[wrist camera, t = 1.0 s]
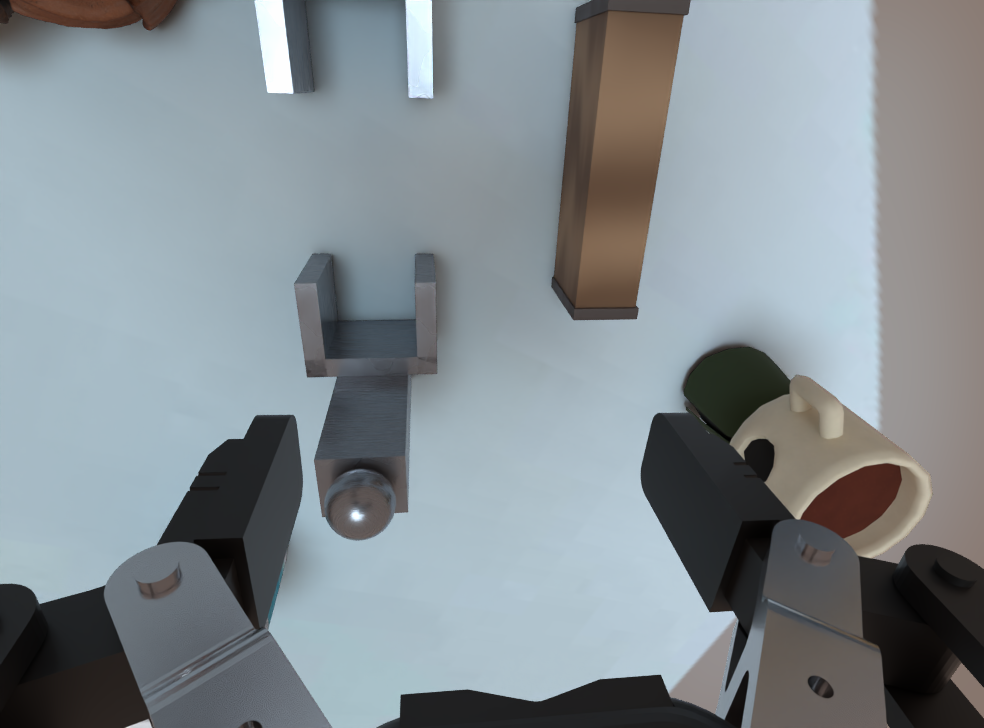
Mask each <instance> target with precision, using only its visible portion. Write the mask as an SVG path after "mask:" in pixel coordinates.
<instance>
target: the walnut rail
mask: <svg viewBox="0 0 984 728" xmlns="http://www.w3.org/2000/svg"><path fill="white" fill-rule="evenodd" d="M690 1H691V0H592V1H590V2H588V3H586V4H584V5H581V6H579V7H577V8H576V14H575V23H577V25H576V36H575V47H574V59H573V70H572V81H571V92H570V103H569V114H568V126H567V137H566V148H565V159H564V170H563V181H562V193H561V204H560V215H559V226H558V237H557V248H556V260H555V271H554V277H552V286H551V287H552V288H553V290H554V291H555V293H556V294H557V296H558V298H559V299H560V301H561V302H562V304H563V305H564V307H565V308H566V310H567V311H568V313H569V314H570V316H571V317H572V319H573V320H618V319H637V315H638V309H639V308H638V307H637V306H636V300H637V294H638V288H639V282H640V276H641V270H642V264H643V258H644V252H645V246H646V240H647V234H648V228H649V222H650V216H651V210H652V204H653V198H654V192H655V186H656V180H657V174H658V167H659V161H660V155H661V149H662V143H663V137H664V131H665V125H666V119H667V113H668V107H669V101H670V95H671V89H672V83H673V77H674V71H675V65H676V59H677V53H678V47H679V41H680V35H681V28H682V22H683V16H684V15H688V13H689V7H690Z"/></svg>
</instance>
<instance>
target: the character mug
mask: <svg viewBox="0 0 984 728" xmlns="http://www.w3.org/2000/svg"><path fill="white" fill-rule="evenodd" d="M684 396H685V397H686V398H687V399H688V400H689V401H690V402H691V403H692V404H693V405H694V406H695V407H696V409H697V411H698V413H699V415H700V416H701V418H702V420H703V421H704V422H705V423H706V424H705V423H704V422H703V421H701V420H700V419H699V418H698V417H697V416H696V415H695V414H694V413H693V412H692V411H691V410H689V409H688V408H687V407H686V410H687V411H688V412H689V413H691V414H692V415H693V416H694V417H695V418H696V419H697V420H698V421H699V423H700V424H701V425H702V426H703V427H704V429H705V430H706V431H708V432H709V433H710V434H714V435H716V436H717V437H719V438H720V439H722V440H723V441H725V442H726V443H728V444H729V445H731V446H733V447H734V448H735V450H736V451H737V452H738V453H739V454H740V455H741V457H742V458H743V459H744V460H745V461H746V465H749V466H750V467H751V468H752V469H753V470H754V471H755V473H756V474H757V478H761V479H762V481H763V482H764V483H765V484H766V485H767V486H768V488H769V489H770V490H771V491H772V492H773V493H774V494H775V496H776V497H777V498H778V499H779V500H780V501H781V502H782V504H783V505H784V506H785V507H786V508H787V509H788V510H789V512H790V513H791V514H792V515H793V516H794V517H795V519H799V520H805V521H810V522H813V523H816V524H818V525H821V526H823V527H825V528H827V529H829V530H831V531H833V532H834V533H836V534H837V535H839V536H840V537H842V538H843V539H844V540H845V541H846V542H847V543H848V544H849V545H850V546H851V547H852V548H853V549H854V551H855V552H856V554H857V556H862V557H867V558H874V557H876V556H878V555H881V554H883V553H885V552H886V551H887V550H889V549H890V548H891V547H893V546H894V545H895V544H897V543H898V542H900V541H901V540H902V539H904V538H905V537H907V535H908V534H909V533H910V532H911V531H912V530H913V528H914V527H915V526H916V525H917V523H918V522H919V521H920V520H921V519H922V518H923V517H924V515H925V512H926V510H927V507H928V505H929V502H930V500H931V497H932V495H933V492H932V485H931V477H930V474H929V473H928V472H927V471H926V470H925V469H924V468H923V467H922V466H921V465H919V464H918V463H917V462H916V461H915V460H914V459H913V458H912V457H911V456H910V455H909V454H908V453H907V452H905V451H904V450H902V449H901V448H900V447H899V446H897V445H896V444H895V443H893V442H892V441H890V440H889V439H888V438H887V437H885V436H884V435H883V434H881V433H880V432H879V431H877V430H876V429H875V428H873V427H872V426H871V425H869V424H868V423H867V422H865V421H864V420H863V419H862V418H860V417H859V416H858V415H856V414H855V413H854V412H852V411H851V410H850V409H848V408H847V407H846V406H844V405H843V404H842V403H840V401H839V400H838V399H837V398H836V397H835V396H833V395H832V394H831V393H829V392H828V391H827V390H825V389H824V388H823V387H821V386H820V385H819V384H817V383H816V382H815V381H813V380H812V379H811V378H809V377H806V376H800V375H796V376H795V377H794V378H793V379H792V380H791V381H790V380H789V379H788V378H787V376H786V375H785V374H784V373H783V372H782V371H781V369H780V368H779V367H778V366H777V365H776V364H775V363H774V362H773V361H772V360H771V359H770V358H769V357H768V356H767V355H766V354H765V353H764V352H761V351H759V350H756V349H753V348H750V347H743V348H734V349H727V350H724V351H722V352H719V353H717V354H714V355H712V356H709V357H707V358H705V359H704V360H703V361H702V362H701V363H700V364H699V365H698V367H697V368H696V369H695V370H694V371H693V372H692V373H691V374H690V376H689V379H688V381H687V384H686V387H685V389H684Z"/></svg>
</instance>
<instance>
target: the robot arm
mask: <svg viewBox="0 0 984 728" xmlns="http://www.w3.org/2000/svg"><path fill="white" fill-rule="evenodd" d="M198 473H199V475H198V476H196V478H195V479H194V481H193V483H192V485H191V486H190V491H188V492H187V493H186V495H185V497H184V499H183V500H182V502H181V504H180V505H179V507H178V509H177V511H176V512H175V514H174V516H173V518H172V519H171V521H170V523H169V525H168V526H167V528H166V530H165V532H164V533H163V535H162V537H161V539H160V540H159V542H158V544H157V546H153V547H151V548H148V549H145V550H143V551H141V552H139V553H137V554H136V555H134V556H132V557H131V558H129V559H128V560H126V561H125V562H124V563H123V564H121V565H120V566H119V567H118V568H117V569H116V570H115V571H114V573H113V574H112V575H111V576H110V578H109V580H108V581H107V583H106V585H105V586H102V587H99V588H96V589H93V590H90V591H86V592H82V593H79V594H75V595H71V596H68V597H64V598H60V599H57V600H53V601H49V602H46V603H42V604H39V603H38V600H37V598H36V596H35V594H34V593H33V591H32V590H30V589H29V588H27V587H25V586H22V585H18V584H0V728H126V727H128V726H131V725H134V724H137V723H139V722H142V721H145V720H147V719H149V721H150V724H151V726H152V728H332V726H331V725H330V723H329V722H328V720H327V719H326V717H325V716H324V714H323V713H322V711H321V709H320V708H319V706H318V705H317V703H316V702H315V700H314V699H313V697H312V696H311V694H310V693H309V691H308V690H307V688H306V686H305V685H304V683H303V682H302V680H301V679H300V677H299V676H298V674H297V673H296V671H295V670H294V668H293V666H292V665H291V663H290V662H289V660H288V659H287V657H286V656H285V654H284V653H283V651H282V650H281V648H280V647H279V645H278V643H277V642H276V640H275V639H274V637H273V636H272V635H271V633H270V632H269V631H268V630H267V629H266V628H265V625H266V621H267V618H268V614H269V611H270V607H271V604H272V600H273V597H274V593H275V590H276V586H277V583H278V579H279V576H280V572H281V569H282V565H283V562H284V558H285V555H286V551H287V548H288V544H289V541H290V537H291V534H292V530H293V527H294V524H295V520H296V517H297V513H298V510H299V506H300V502H301V497H302V487H303V475H302V465H301V456H300V448H299V439H298V430H297V423H296V419H295V416H294V415H257V416H255V417H254V419H253V421H252V423H251V425H250V427H249V429H248V431H247V433H246V435H245V437H244V439H228V440H227V441H225V442H224V443H223V444H222V445H220V446H219V447H218V448H216V449H215V450H214V451H213V452H211V453H210V454H209V455H208V457H207V458H206V460H205V462H204V464H203V465H202V467H201V469H200V471H199V472H198ZM641 484H642V488H643V491H644V494H645V496H646V498H647V500H648V501H649V503H650V505H651V507H652V509H653V510H654V512H655V514H656V516H657V518H658V519H659V521H660V523H661V525H662V527H663V529H664V530H665V532H666V534H667V536H668V538H669V539H670V541H671V543H672V545H673V547H674V548H675V550H676V552H677V554H678V556H679V557H680V559H681V561H682V563H683V565H684V567H685V568H686V570H687V572H688V574H689V576H690V577H691V579H692V581H693V583H694V585H695V586H696V588H697V590H698V592H699V594H700V596H701V597H702V599H703V601H704V603H705V605H706V606H707V608H708V610H709V612H722V611H733V612H734V613H735V615H736V617H737V618H738V620H737V622H736V625H735V627H734V630H733V634H732V639H731V643H730V648H729V653H728V658H727V663H726V668H725V672H724V677H723V682H722V687H721V692H720V697H719V701H718V706H717V710H716V713H715V714H713V713H711V712H710V711H708V710H706V709H703V708H701V707H699V706H696V705H694V704H692V703H689V702H685V701H682V700H679V699H676V698H671V697H670V696H669V694H668V691H667V689H666V686H665V684H664V682H663V679H662V677H661V675H651V676H638V677H625V678H612V679H600V680H597V681H594V682H592V683H589V684H586V685H584V686H581V687H578V688H576V689H573V690H571V691H568V692H565V693H563V694H560V695H557V696H555V697H552V698H549V699H547V700H544V701H538V702H534V701H527V700H522V699H516V698H511V697H506V696H500V695H495V694H489V693H484V692H478V691H473V690H455V691H442V692H429V693H416V694H403V695H401V701H400V718H397V719H395V720H392V721H390V722H387V723H385V724H383V725H381V726H379V727H377V728H887V724H888V726H889V727H890V728H984V718H983V717H982V716H981V715H980V714H979V712H978V711H977V710H976V709H975V708H974V706H973V705H972V704H971V703H970V702H969V700H968V699H967V698H966V697H965V696H964V695H963V693H962V692H961V691H960V690H959V688H958V687H957V686H956V685H955V684H954V683H953V681H952V680H951V679H950V678H951V677H952V675H953V674H954V672H955V671H956V670H957V668H958V667H959V665H960V664H961V663H963V665H965V667H966V668H967V669H968V670H969V671H970V672H971V674H972V675H973V676H974V677H975V678H976V679H977V680H978V682H979V683H980V684H981V685H982V686H983V687H984V569H982V568H981V567H980V566H978V565H977V564H975V563H974V562H972V561H971V560H969V559H967V558H965V557H963V556H961V555H959V554H957V553H955V552H953V551H950V550H947V549H944V548H941V547H937V546H933V545H925V544H920V545H913V546H911V547H909V548H908V549H907V550H906V551H905V553H904V555H903V557H902V559H901V561H900V562H899V564H896V563H891V562H886V561H881V560H877V559H872V558H867V557H862V556H857V554H856V552H855V551H854V549H853V548H852V547H851V546H850V545H849V544H848V543H847V542H846V541H845V540H844V539H843V538H842V537H840V536H839V535H837V534H836V533H834V532H833V531H831V530H829V529H827V528H825V527H823V526H821V525H818V524H816V523H813V522H810V521H805V520H799V519H795V517H794V516H793V515H792V514H791V513H790V512H789V510H788V509H787V508H786V507H785V506H784V505H783V504H782V502H781V501H780V500H779V499H778V498H777V497H776V496H775V494H774V493H773V492H772V491H771V490H770V489H769V488H768V486H767V485H766V484H765V483H764V482H763V481H762V479H761V478H757V474H756V473H755V471H754V470H753V469H752V468H751V467H750V466H749V465H746V461H745V460H744V459H743V458H742V457H741V455H740V454H739V453H738V452H737V451H736V450H735V448H734V447H733V446H731V445H729V444H728V443H726V442H725V441H723V440H722V439H720V438H719V437H717V436H716V435H714V434H709V433H708V432H707V431H706V430H705V429H704V427H703V426H702V425H701V424H700V423H699V421H698V420H697V419H696V418H695V417H694V416H693V415H692V414H691V413H657V414H656V415H655V416H654V418H653V420H652V424H651V428H650V432H649V436H648V441H647V445H646V449H645V453H644V458H643V462H642V466H641Z"/></svg>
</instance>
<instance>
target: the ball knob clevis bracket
mask: <svg viewBox="0 0 984 728" xmlns="http://www.w3.org/2000/svg"><path fill="white" fill-rule="evenodd" d="M255 7H256V14H257V21H258V28H259V35H260V42H261V50H262V57H263V64H264V71H265V78H266V85H267V92H268V93H306V92H314V82H313V73H312V63H311V53H310V44H309V34H308V25H307V15H306V5H305V0H255ZM406 28H407V59H408V89H409V97H410V98H433V57H432V0H406ZM294 286H295V293H296V301H297V308H298V315H299V322H300V329H301V336H302V344H303V351H304V358H305V365H306V372H307V377H337V380H336V383H335V387H334V390H333V394H332V398H331V401H330V405H329V408H328V412H327V416H326V419H325V423H324V426H323V430H322V433H321V437H320V441H319V444H318V448H317V451H316V455H315V459H314V463H315V470H316V477H317V484H318V491H319V498H320V504H321V511H322V517H326V519H327V522H328V523H329V525H330V527H331V528H332V529H333V530H334V531H335V532H336V533H337V534H339V535H340V536H342V537H344V538H347V539H350V540H366V539H369V538H372V537H374V536H376V535H378V534H379V533H381V532H382V531H383V530H384V529H385V528H386V527H387V526H388V525H389V523H390V522H391V520H392V518H393V516H394V513H402V512H408V491H409V451H410V412H411V375H412V374H437V336H436V280H435V268H434V256H433V254H415V303H416V320H374V321H338V313H337V304H336V294H335V284H334V275H333V265H332V256H331V254H312V256H311V257H310V259H309V261H308V262H307V264H306V265H305V267H304V269H303V270H302V272H301V273H300V275H299V277H298V278H297V280H296V281H295V283H294Z"/></svg>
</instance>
